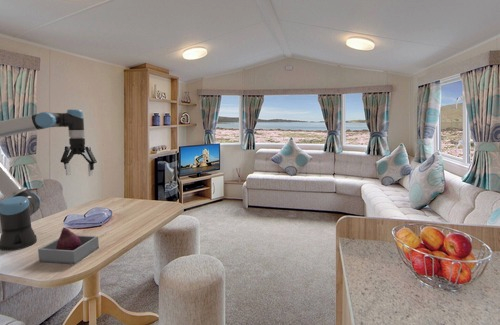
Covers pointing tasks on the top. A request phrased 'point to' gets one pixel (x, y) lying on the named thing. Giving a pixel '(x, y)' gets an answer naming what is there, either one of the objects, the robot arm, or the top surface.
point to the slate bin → (68, 251)
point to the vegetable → (68, 240)
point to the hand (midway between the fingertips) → (79, 175)
